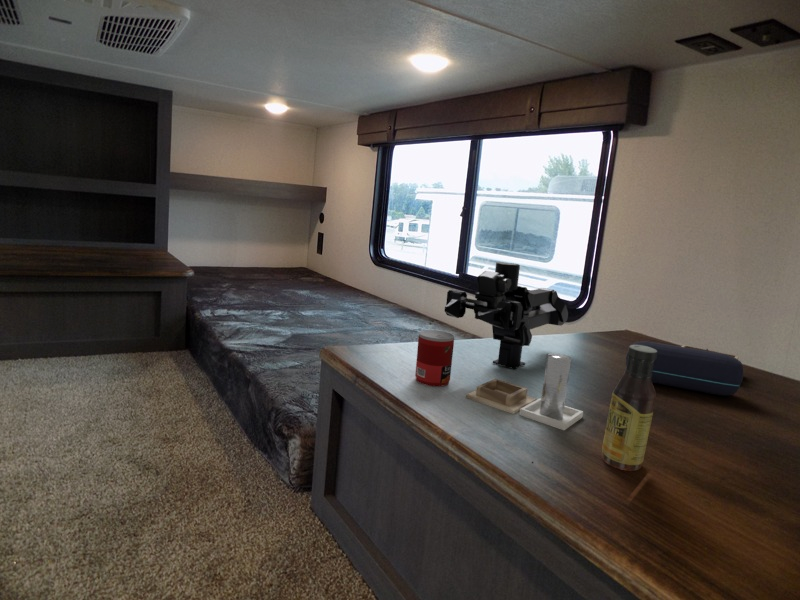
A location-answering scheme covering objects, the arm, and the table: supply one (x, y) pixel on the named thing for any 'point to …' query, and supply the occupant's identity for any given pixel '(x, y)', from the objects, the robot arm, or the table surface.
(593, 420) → the table surface
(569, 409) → the tray
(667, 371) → the portable speaker
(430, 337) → the canned food
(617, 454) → the sauce bottle
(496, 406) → the wooden socket base
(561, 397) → the cylinder
